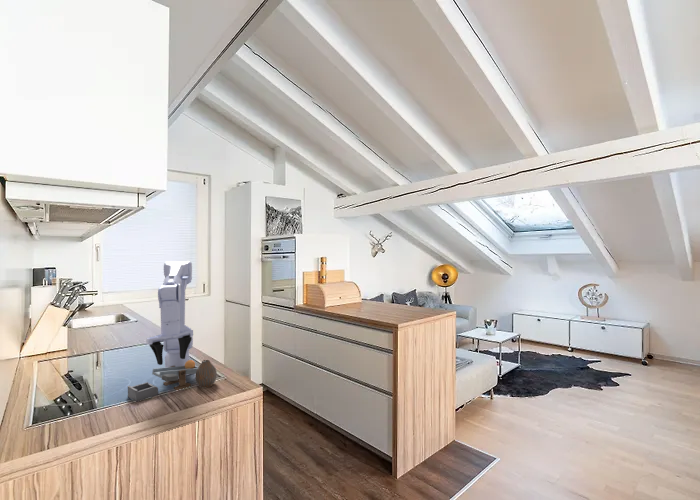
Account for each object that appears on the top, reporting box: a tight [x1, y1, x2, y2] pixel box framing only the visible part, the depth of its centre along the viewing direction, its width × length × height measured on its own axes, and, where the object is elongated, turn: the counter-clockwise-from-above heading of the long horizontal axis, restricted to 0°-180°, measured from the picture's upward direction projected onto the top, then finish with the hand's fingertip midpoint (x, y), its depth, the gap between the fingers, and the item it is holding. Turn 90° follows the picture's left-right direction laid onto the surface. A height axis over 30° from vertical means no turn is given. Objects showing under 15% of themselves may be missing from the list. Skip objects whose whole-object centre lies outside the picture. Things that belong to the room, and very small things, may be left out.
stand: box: [163, 366, 192, 391], centre depth 126 cm, size 10×5×6 cm, turn 51°
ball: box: [185, 359, 196, 369], centre depth 130 cm, size 4×4×4 cm
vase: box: [195, 359, 218, 388], centre depth 125 cm, size 7×7×9 cm
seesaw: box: [151, 365, 199, 382], centre depth 123 cm, size 14×15×2 cm
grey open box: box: [127, 381, 159, 403], centre depth 117 cm, size 7×7×4 cm
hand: (171, 361), depth 120 cm, fingers open, 7 cm apart
